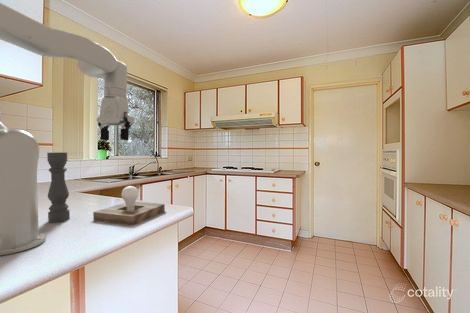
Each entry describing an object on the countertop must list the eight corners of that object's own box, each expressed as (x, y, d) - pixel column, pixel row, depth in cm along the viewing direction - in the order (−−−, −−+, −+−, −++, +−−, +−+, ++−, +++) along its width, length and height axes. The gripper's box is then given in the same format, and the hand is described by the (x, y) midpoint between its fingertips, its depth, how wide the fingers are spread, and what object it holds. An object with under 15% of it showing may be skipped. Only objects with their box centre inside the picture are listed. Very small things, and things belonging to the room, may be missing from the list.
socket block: (132, 225, 76) (132, 216, 76) (93, 219, 82) (93, 211, 82) (164, 211, 93) (164, 204, 93) (130, 207, 99) (130, 201, 99)
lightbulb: (126, 216, 83) (125, 187, 83) (119, 214, 87) (118, 186, 87) (142, 212, 88) (141, 185, 88) (134, 210, 92) (133, 184, 92)
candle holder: (57, 223, 78) (55, 152, 77) (43, 222, 79) (41, 152, 78) (73, 218, 84) (72, 152, 83) (60, 217, 85) (58, 152, 84)
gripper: (89, 93, 83) (88, 139, 83) (125, 90, 77) (124, 139, 77) (106, 99, 90) (105, 140, 90) (141, 96, 84) (140, 140, 84)
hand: (114, 140), depth 84 cm, fingers open, 9 cm apart
